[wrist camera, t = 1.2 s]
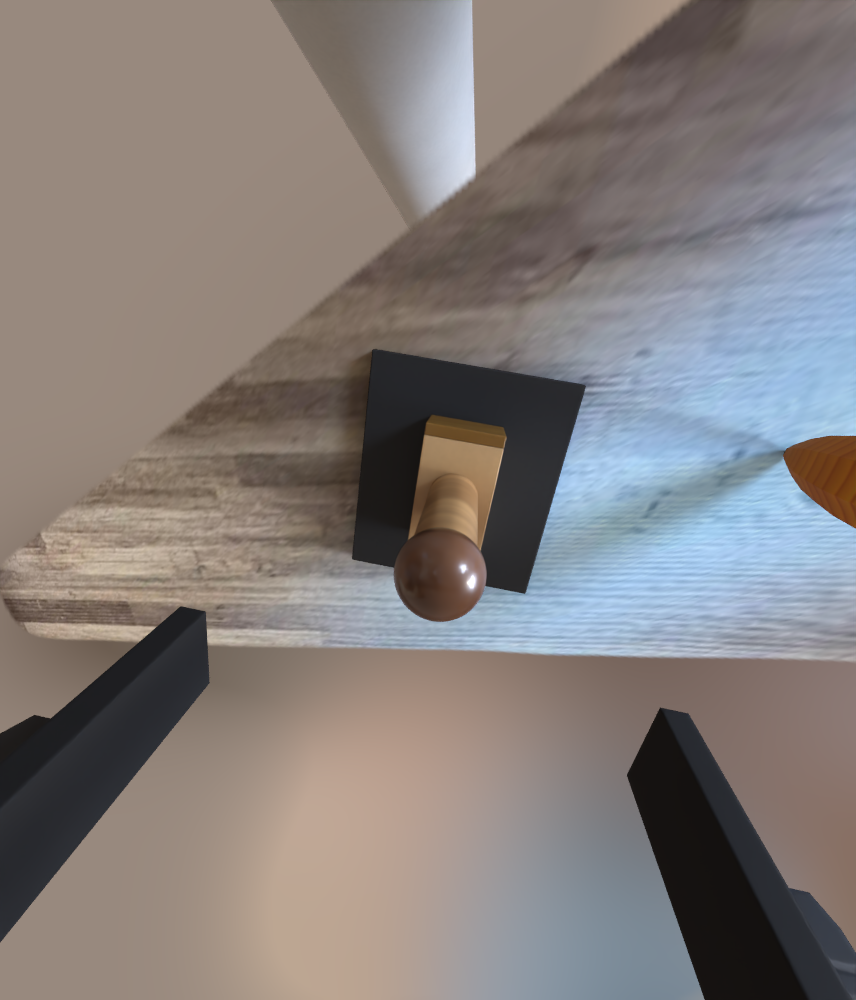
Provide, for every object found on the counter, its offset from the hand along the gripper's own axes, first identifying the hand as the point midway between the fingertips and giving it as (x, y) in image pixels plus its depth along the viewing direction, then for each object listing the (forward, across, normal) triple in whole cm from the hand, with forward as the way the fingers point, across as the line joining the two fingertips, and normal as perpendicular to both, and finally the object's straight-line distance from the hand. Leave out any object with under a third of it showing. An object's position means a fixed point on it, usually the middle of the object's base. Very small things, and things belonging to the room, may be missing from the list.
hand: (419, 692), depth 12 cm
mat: (+20, 0, 0) cm, 20 cm away
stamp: (+19, 0, 0) cm, 19 cm away
